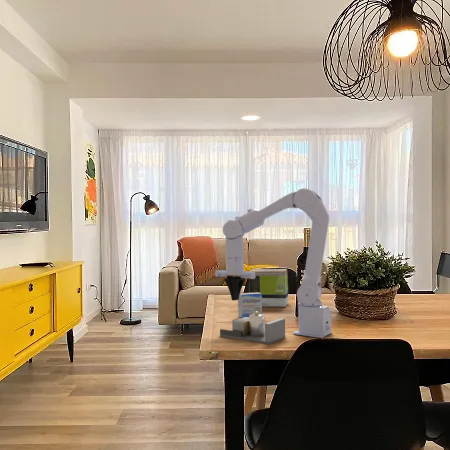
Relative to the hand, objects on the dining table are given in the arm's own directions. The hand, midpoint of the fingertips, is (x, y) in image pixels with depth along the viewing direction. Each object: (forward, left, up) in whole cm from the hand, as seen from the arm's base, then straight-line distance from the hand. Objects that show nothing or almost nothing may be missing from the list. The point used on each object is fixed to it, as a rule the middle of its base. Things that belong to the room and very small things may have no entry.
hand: (235, 299), depth 150 cm
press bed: (-10, +6, -9) cm, 15 cm away
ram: (-8, +6, -9) cm, 13 cm away
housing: (-12, +6, -9) cm, 16 cm away
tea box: (+14, -44, -10) cm, 47 cm away
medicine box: (+7, -19, -10) cm, 22 cm away
